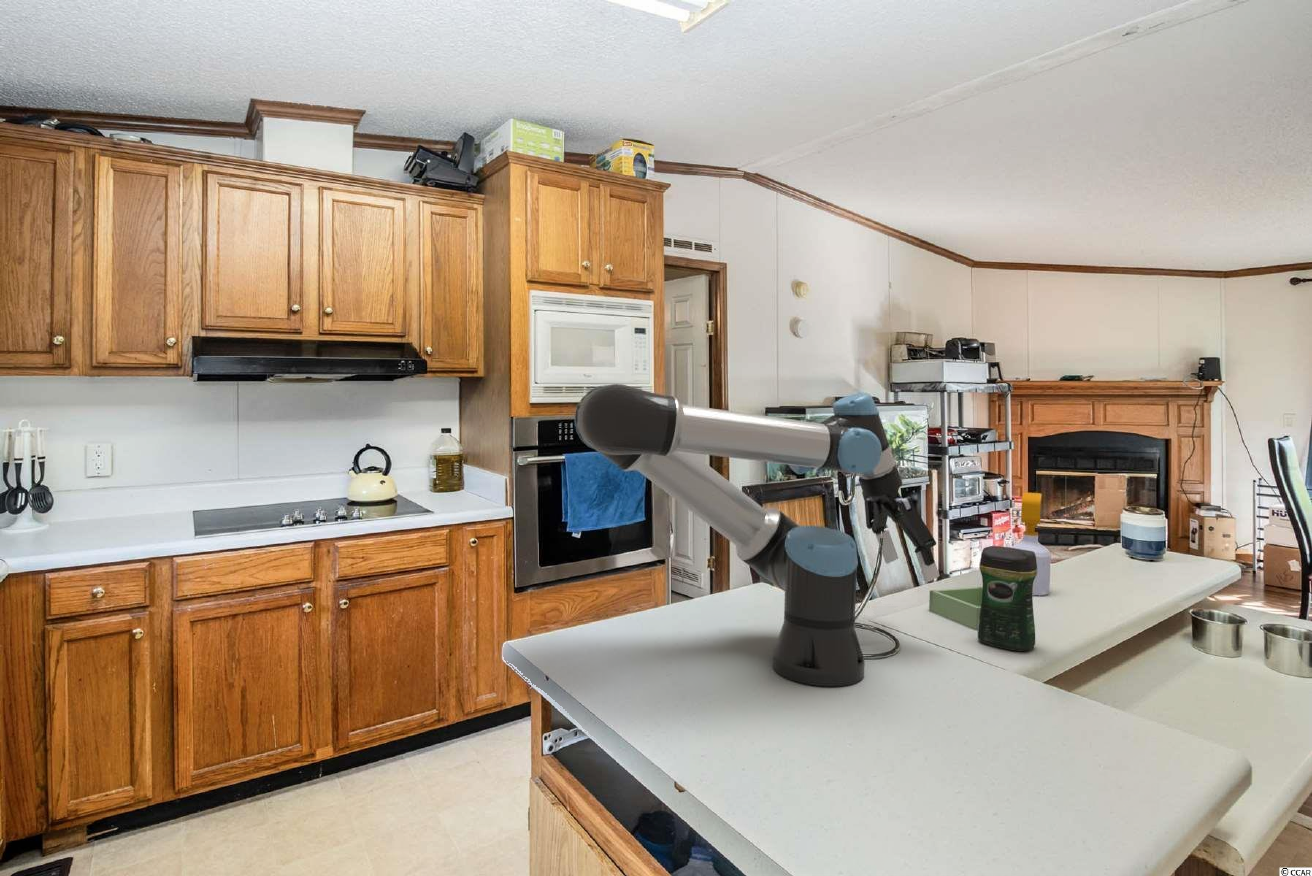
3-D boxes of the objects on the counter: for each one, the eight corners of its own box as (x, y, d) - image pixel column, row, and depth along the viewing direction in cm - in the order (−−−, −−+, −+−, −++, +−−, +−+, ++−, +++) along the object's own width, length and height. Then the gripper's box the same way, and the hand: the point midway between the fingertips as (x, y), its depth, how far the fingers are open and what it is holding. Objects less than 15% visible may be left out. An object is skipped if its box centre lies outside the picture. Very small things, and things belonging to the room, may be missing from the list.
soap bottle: (1049, 590, 173) (1053, 493, 172) (1048, 598, 165) (1052, 496, 164) (1009, 585, 177) (1013, 490, 176) (1006, 592, 170) (1010, 493, 169)
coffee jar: (1040, 645, 130) (1043, 548, 130) (1026, 655, 125) (1029, 554, 124) (986, 633, 137) (990, 541, 137) (971, 642, 132) (974, 546, 131)
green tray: (976, 629, 140) (977, 608, 139) (929, 610, 153) (929, 590, 153) (1030, 624, 144) (1031, 603, 144) (979, 606, 157) (980, 586, 157)
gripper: (933, 471, 121) (969, 578, 124) (860, 457, 145) (892, 546, 148) (897, 488, 119) (934, 596, 123) (829, 471, 144) (862, 561, 147)
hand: (911, 569), depth 135 cm, fingers open, 13 cm apart
